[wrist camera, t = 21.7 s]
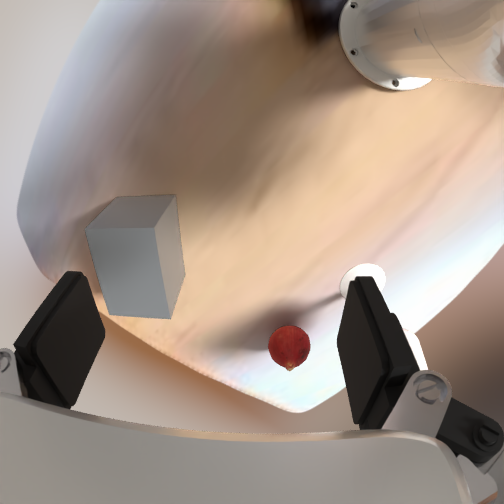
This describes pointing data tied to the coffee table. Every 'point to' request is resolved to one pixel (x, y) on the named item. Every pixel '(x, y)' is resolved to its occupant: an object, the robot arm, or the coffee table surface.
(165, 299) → the grey rectangular box
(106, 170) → the coffee table surface
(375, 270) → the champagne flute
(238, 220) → the coffee table surface
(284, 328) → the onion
